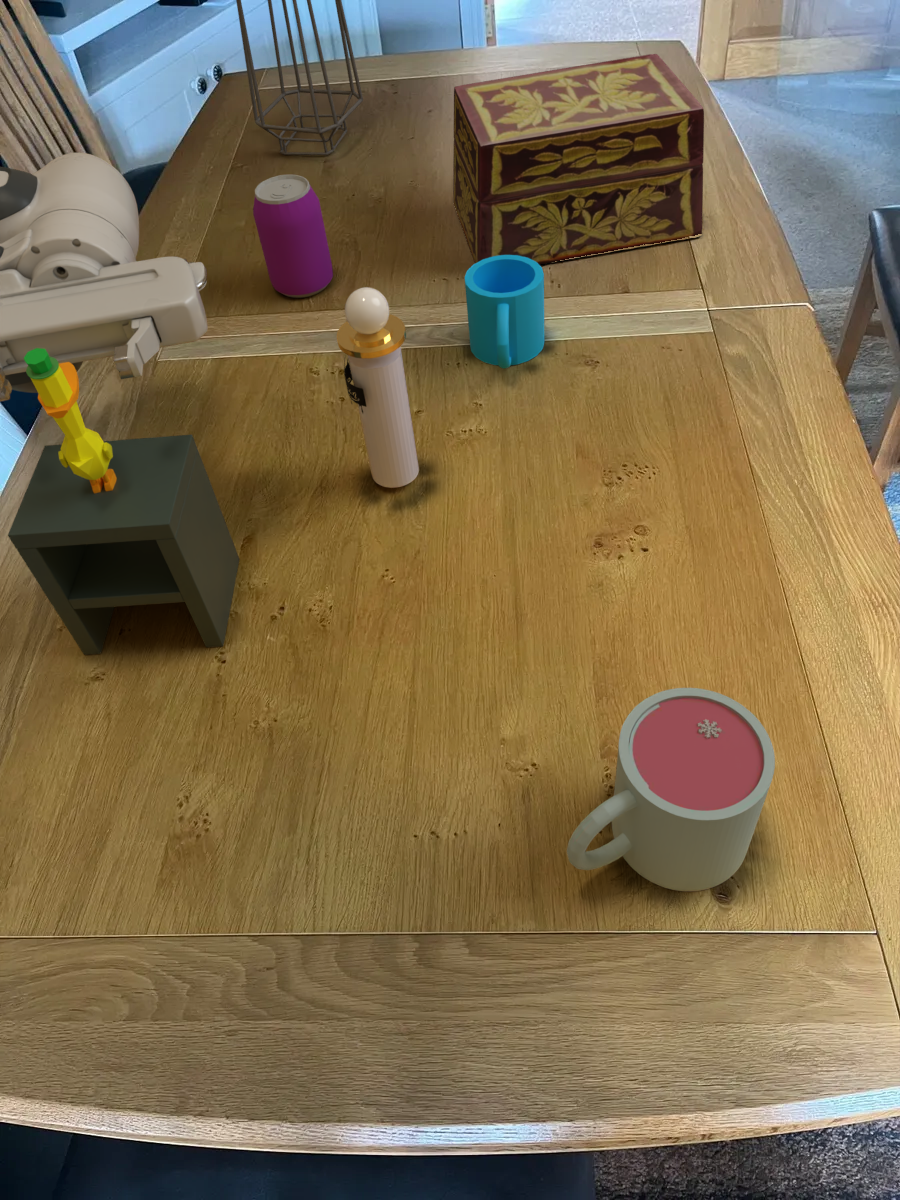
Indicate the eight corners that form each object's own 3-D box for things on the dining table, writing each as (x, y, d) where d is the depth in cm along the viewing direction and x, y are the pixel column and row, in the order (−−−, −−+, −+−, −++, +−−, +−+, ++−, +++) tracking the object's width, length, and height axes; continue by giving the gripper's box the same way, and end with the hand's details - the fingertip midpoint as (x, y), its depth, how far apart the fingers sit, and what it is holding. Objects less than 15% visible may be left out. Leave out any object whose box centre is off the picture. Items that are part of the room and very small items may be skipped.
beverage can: (289, 264, 117) (266, 169, 108) (344, 270, 115) (326, 173, 106) (261, 297, 113) (235, 201, 104) (319, 304, 111) (297, 207, 102)
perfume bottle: (414, 450, 92) (386, 264, 77) (434, 486, 89) (409, 298, 73) (359, 468, 91) (319, 283, 76) (377, 505, 88) (339, 318, 72)
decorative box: (655, 170, 125) (664, 47, 114) (703, 238, 113) (719, 108, 101) (452, 204, 124) (442, 83, 112) (479, 277, 112) (470, 150, 100)
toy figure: (84, 457, 73) (16, 323, 64) (130, 448, 73) (69, 314, 64) (77, 516, 68) (3, 381, 59) (126, 507, 69) (60, 371, 60)
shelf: (83, 655, 79) (7, 535, 68) (110, 567, 85) (44, 445, 74) (223, 646, 78) (168, 524, 67) (239, 558, 85) (192, 434, 74)
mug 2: (691, 746, 68) (708, 665, 61) (778, 849, 63) (808, 773, 55) (530, 835, 65) (526, 761, 57) (606, 952, 59) (614, 887, 52)
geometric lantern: (290, 118, 146) (230, -166, 120) (383, 123, 142) (343, -170, 115) (245, 165, 137) (170, -132, 110) (344, 171, 133) (291, -135, 106)
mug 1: (472, 323, 106) (466, 256, 99) (544, 320, 105) (544, 253, 98) (465, 389, 98) (459, 321, 92) (544, 387, 97) (543, 318, 91)
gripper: (217, 292, 78) (220, 392, 69) (-31, 336, 76) (-62, 443, 68) (194, 220, 73) (194, 316, 64) (-71, 265, 72) (-109, 370, 63)
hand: (60, 382), depth 66 cm, fingers open, 8 cm apart
